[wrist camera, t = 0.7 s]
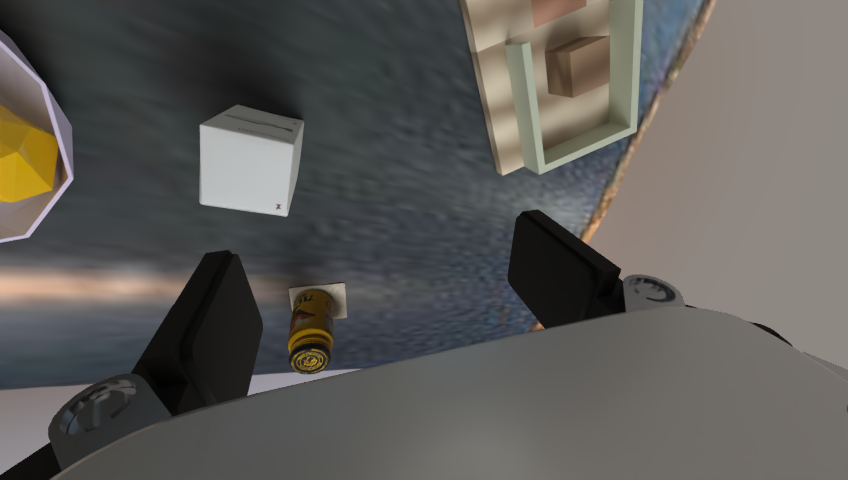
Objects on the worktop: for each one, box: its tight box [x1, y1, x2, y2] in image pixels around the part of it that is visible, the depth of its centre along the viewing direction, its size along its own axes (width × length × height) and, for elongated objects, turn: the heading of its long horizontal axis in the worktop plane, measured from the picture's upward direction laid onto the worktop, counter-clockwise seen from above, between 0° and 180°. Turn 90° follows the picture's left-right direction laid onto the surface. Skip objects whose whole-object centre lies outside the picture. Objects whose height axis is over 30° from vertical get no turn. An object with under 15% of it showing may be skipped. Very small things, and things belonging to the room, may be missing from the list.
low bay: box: [505, 0, 643, 175], centre depth 41 cm, size 16×15×4 cm
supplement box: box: [199, 105, 304, 216], centre depth 33 cm, size 7×7×13 cm
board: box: [459, 0, 611, 175], centre depth 39 cm, size 32×22×2 cm
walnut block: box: [545, 35, 610, 98], centre depth 39 cm, size 5×5×5 cm
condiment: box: [288, 283, 347, 374], centre depth 47 cm, size 7×8×12 cm
